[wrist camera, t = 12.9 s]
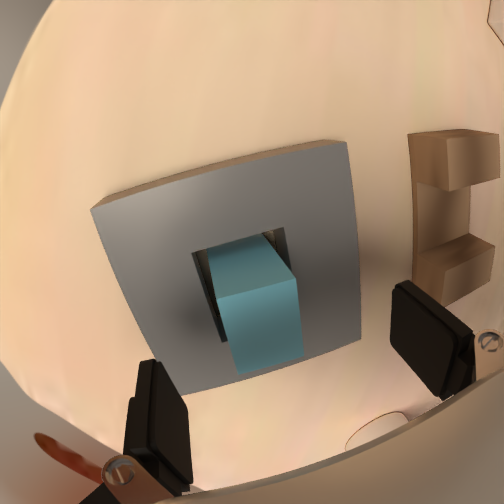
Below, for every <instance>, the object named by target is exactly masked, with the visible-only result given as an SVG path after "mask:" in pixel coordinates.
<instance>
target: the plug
mask: <svg viewBox="0 0 504 504" xmlns="http://www.w3.org/2000/svg"><path fill="white" fill-rule="evenodd" d="M206 251H207V256H208V261H209V266H210V271H211V276H212V281H213V286H214V291H215V296H216V300H217V304H218V308H219V311H220V315H221V318H222V322H223V325H224V329H225V332H226V336H227V339H228V343H229V346H230V349H231V353H232V356H233V359H234V363H235V366H236V369H237V373H238V375H239V374H243V373H247V372H251V371H255V370H258V369H262V368H266V367H269V366H273V365H276V364H280V363H283V362H286V361H290V360H293V359H296V358H299V357H303V356H304V348H303V338H302V329H301V319H300V310H299V301H298V292H297V284H296V278H295V277H294V275H293V274H292V273H291V271H290V270H289V269H288V267H287V266H286V265H285V263H284V262H283V261H282V259H281V258H280V257H279V255H278V254H277V253H276V251H275V250H274V249H273V247H272V246H271V245H270V243H269V242H268V241H267V239H266V238H265V237H264V235H263V234H262V233H259V234H256V235H252V236H249V237H245V238H242V239H238V240H234V241H231V242H227V243H224V244H220V245H217V246H213V247H210V248H206Z"/></svg>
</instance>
